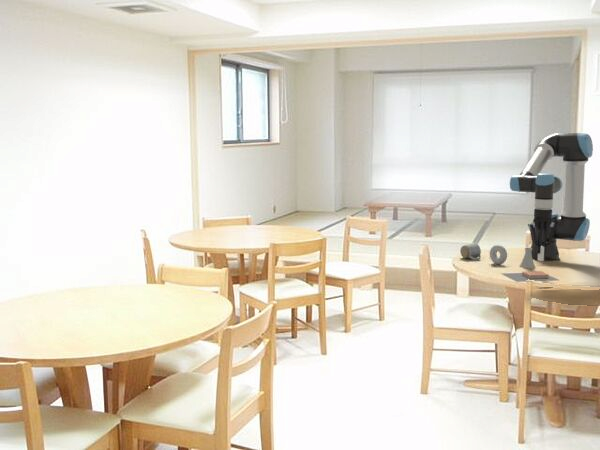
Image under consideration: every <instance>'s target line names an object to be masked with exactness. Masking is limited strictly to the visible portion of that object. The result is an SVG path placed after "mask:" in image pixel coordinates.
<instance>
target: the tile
mask: <svg viewBox="0 0 600 450" xmlns="http://www.w3.org/2000/svg"><path fill="white" fill-rule="evenodd" d="M521 273H522V275H523V276H525V277H527V278H529V279H536V278H548V277H549V276H550V275H549V274H548V273H546V272H544V271H539V270H538V271H522V272H521Z"/></svg>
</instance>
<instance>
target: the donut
mask: <svg viewBox="0 0 600 450" xmlns="http://www.w3.org/2000/svg"><path fill="white" fill-rule="evenodd" d="M498 253H499V257H498V255H497V254H498ZM489 258H490V260H491V262H492V263H493V264H495V265H503V264H504V263H506V261H507V258H508V251H507V250H506V248H505V247H504V246H503V245H502V244H495V245H493V246H492V247H491V248H490V250H489Z"/></svg>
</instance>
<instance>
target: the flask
mask: <svg viewBox="0 0 600 450" xmlns="http://www.w3.org/2000/svg"><path fill="white" fill-rule="evenodd" d="M531 250H532V248H530V247H525V248H524V251H525V252H524V255H523V257H522V260H521V262H520V264H519V267H518V268H523V269H536V266H535V263H534V259H533V258H532V254H531Z"/></svg>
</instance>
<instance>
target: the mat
mask: <svg viewBox="0 0 600 450" xmlns="http://www.w3.org/2000/svg"><path fill="white" fill-rule="evenodd" d="M501 275H503V276H504V277H507V278H508V279H511V280H512V281H514V282H516V283H517V282H520V283H521V282H527V281H526V280H528V279H529V278H527V277H525V276H523V275H522V272H513V273H512V272H509V273H507V272H506V273H501ZM529 280H534V281H533V282H546V281H550V282H551V281H553V282H554V281H559V279H558V278H557V277H556V278H555V277H554V276H551V275H549V277H548V278H536V279H529Z"/></svg>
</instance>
